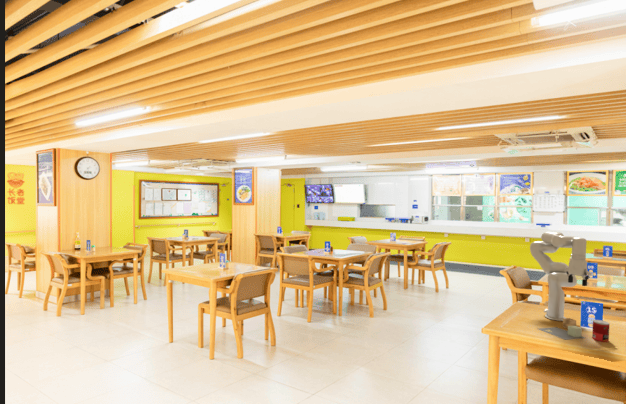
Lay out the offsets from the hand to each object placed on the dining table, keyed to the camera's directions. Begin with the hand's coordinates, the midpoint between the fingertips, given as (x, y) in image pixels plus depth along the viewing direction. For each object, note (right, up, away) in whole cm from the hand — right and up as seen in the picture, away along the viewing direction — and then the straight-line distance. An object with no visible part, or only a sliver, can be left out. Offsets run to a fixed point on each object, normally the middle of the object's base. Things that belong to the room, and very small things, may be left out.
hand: (577, 284), depth 258 cm
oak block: (-6, -28, -1) cm, 29 cm away
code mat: (-18, -28, -12) cm, 35 cm away
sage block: (-12, -28, -16) cm, 34 cm away
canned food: (-1, -29, -21) cm, 36 cm away
